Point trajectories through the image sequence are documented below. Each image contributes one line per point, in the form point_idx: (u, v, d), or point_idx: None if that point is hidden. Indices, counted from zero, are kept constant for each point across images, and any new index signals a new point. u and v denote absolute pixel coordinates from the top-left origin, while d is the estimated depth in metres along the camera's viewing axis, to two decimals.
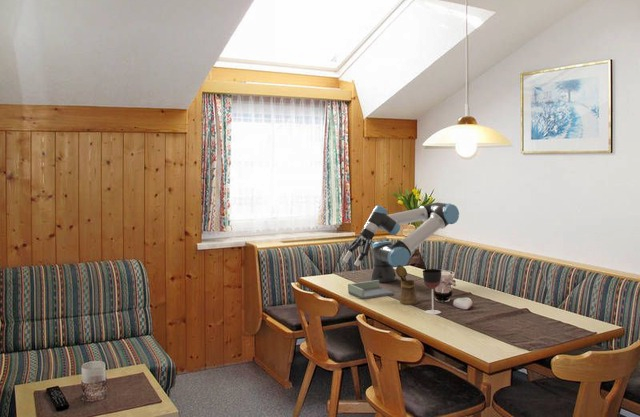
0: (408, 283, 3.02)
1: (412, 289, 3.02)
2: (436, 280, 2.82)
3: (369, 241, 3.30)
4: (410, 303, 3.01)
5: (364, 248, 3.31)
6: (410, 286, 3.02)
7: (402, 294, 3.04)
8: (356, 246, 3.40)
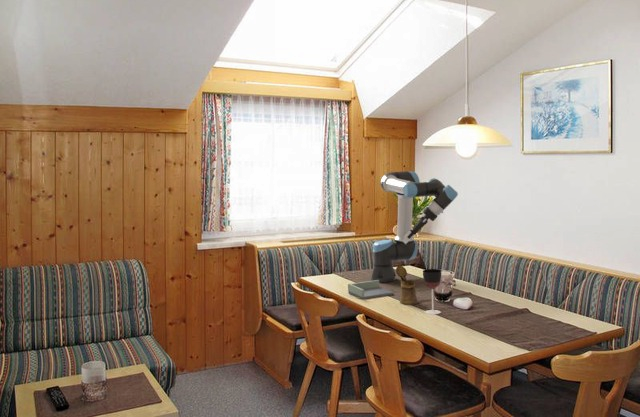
0: (408, 283, 3.02)
1: (412, 289, 3.02)
2: (436, 280, 2.82)
3: None
4: (410, 303, 3.01)
5: None
6: (410, 286, 3.02)
7: (402, 294, 3.04)
8: None
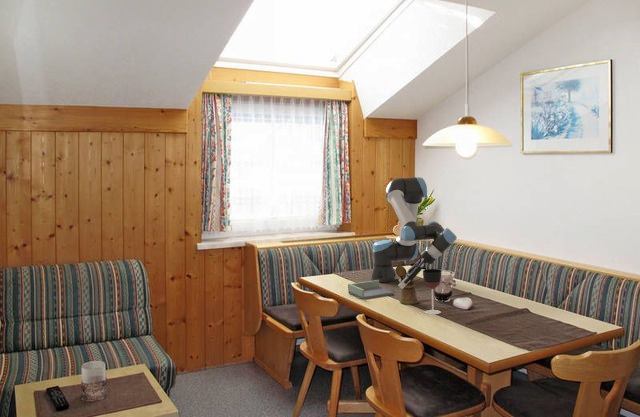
0: (408, 283, 3.02)
1: (412, 289, 3.02)
2: (436, 280, 2.82)
3: None
4: (410, 303, 3.02)
5: (415, 268, 3.10)
6: (410, 286, 3.02)
7: (402, 294, 3.04)
8: None
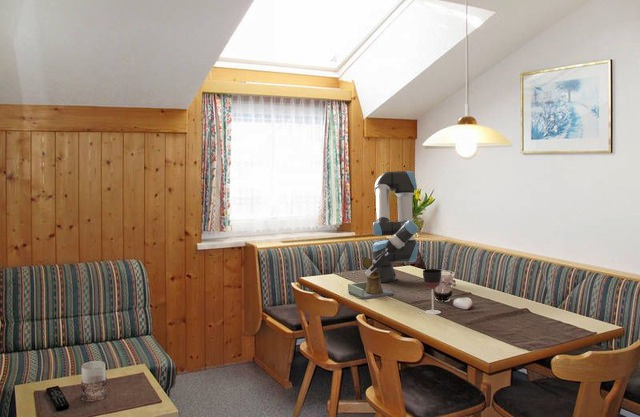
0: (373, 274, 3.21)
1: (377, 279, 3.21)
2: (436, 280, 2.82)
3: None
4: (375, 292, 3.21)
5: None
6: (375, 276, 3.21)
7: (368, 284, 3.23)
8: None
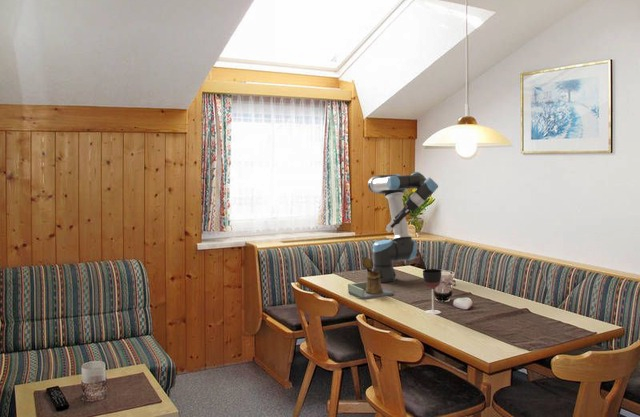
0: (373, 274, 3.21)
1: (377, 279, 3.21)
2: (436, 280, 2.82)
3: None
4: (375, 292, 3.21)
5: None
6: (375, 276, 3.21)
7: (368, 284, 3.23)
8: None
